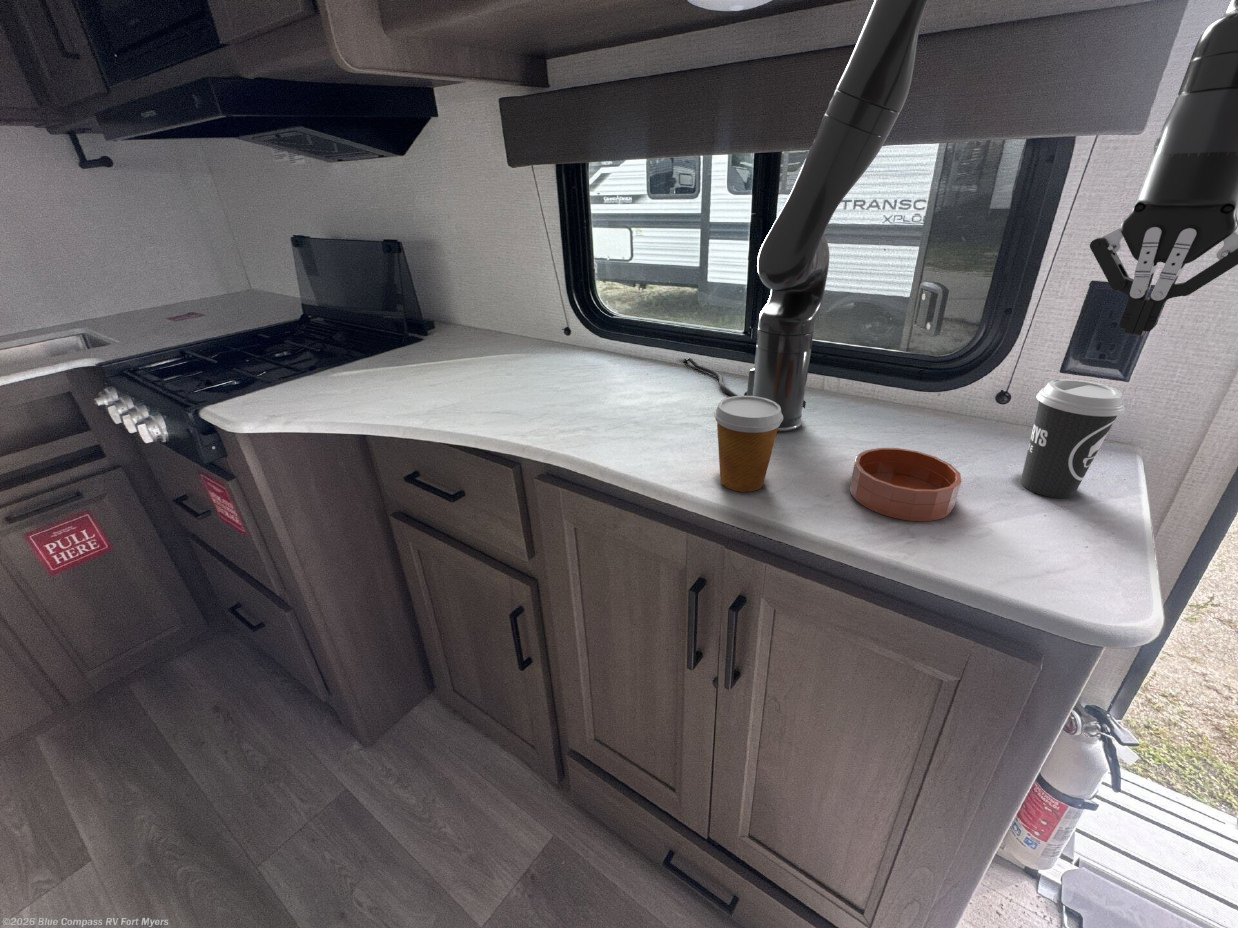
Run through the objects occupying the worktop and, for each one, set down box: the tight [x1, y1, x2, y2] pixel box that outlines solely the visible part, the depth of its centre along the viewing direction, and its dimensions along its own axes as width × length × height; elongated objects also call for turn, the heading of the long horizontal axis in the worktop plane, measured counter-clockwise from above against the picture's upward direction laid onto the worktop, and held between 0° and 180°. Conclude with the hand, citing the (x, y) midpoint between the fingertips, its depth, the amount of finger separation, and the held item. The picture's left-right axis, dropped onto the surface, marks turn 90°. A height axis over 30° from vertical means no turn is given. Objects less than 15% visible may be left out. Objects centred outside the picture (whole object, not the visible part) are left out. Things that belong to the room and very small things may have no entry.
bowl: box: [849, 447, 962, 522], centre depth 79 cm, size 13×13×4 cm
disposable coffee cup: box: [713, 395, 783, 493], centre depth 81 cm, size 10×10×12 cm
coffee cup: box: [1020, 378, 1126, 499], centre depth 78 cm, size 10×10×15 cm
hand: (1133, 334), depth 61 cm, fingers closed
